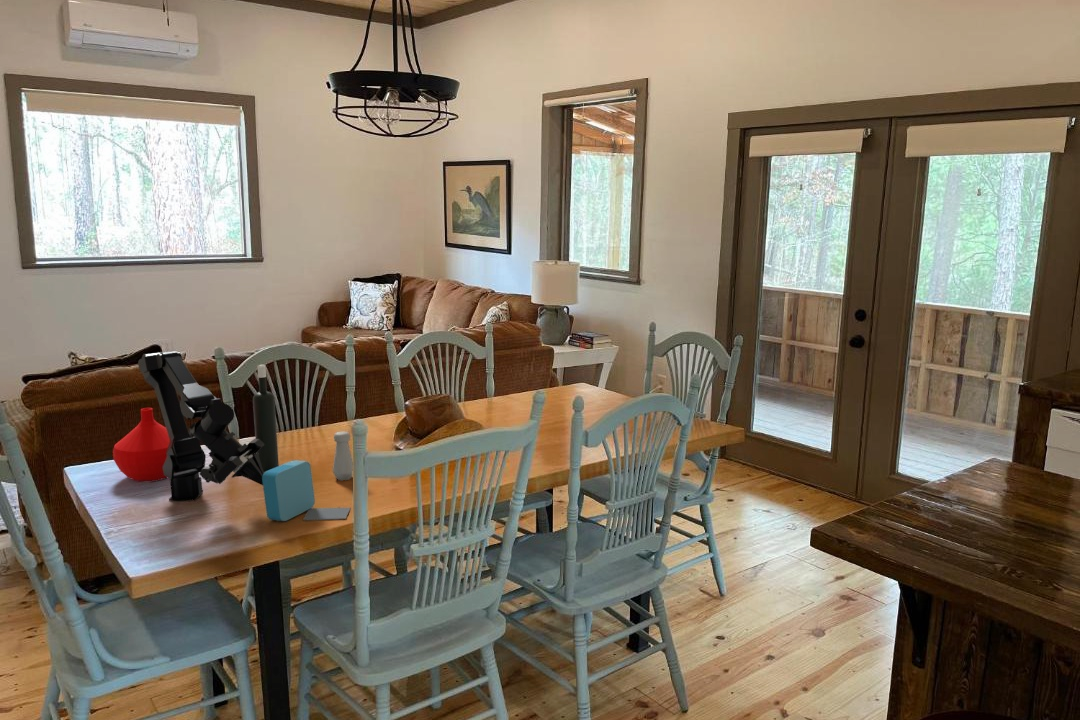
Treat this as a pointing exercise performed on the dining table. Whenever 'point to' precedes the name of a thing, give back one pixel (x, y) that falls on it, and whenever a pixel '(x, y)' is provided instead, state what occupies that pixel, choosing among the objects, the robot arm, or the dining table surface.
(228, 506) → the dining table surface
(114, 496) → the dining table surface
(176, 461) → the robot arm
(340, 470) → the salt shaker
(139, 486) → the dining table surface
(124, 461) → the vase
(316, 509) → the felt pad
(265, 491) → the data package
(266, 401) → the wine bottle
